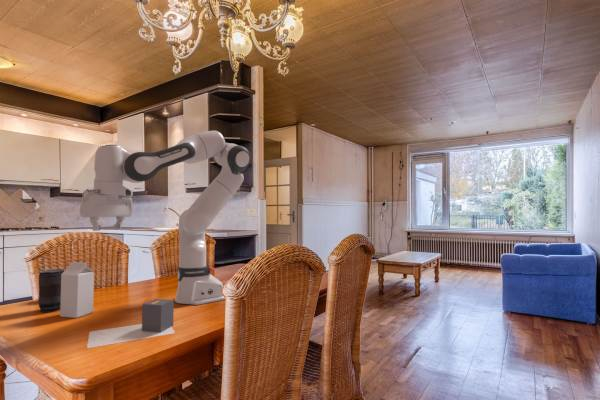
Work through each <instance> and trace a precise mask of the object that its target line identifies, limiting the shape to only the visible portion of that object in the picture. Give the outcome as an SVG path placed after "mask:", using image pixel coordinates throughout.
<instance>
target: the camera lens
mask: <svg viewBox="0 0 600 400" xmlns="http://www.w3.org/2000/svg"><path fill="white" fill-rule="evenodd" d="M64 271H65V269H63V268H56V269H47V270H42V271H40V272H39V273H38V274H39V275H38V308H39V309H40V310H39V311H40V312H41V313H53V312H54V313H55V312H59V311H60V305H61V274H62V273H63V272H64Z"/></svg>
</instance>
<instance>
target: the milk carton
mask: <svg viewBox="0 0 600 400" xmlns="http://www.w3.org/2000/svg"><path fill="white" fill-rule="evenodd" d="M94 277H95V271H94V270H93V269H92V268H90V267H89V266H88V264H87V262H86V261H85V262H80V261H78V262H77V261H75V262H74V261H69V266H67V268H66V269H64V272H63V273H62V274H61V305H60V310H59V312H60V313H59V316H60V318H61V317H62V318H75V319H77V318H80V317H83V316H86V315H88V314H91V313H94V290H95V289H94V286H95V284H94V282H95V280H94V279H95V278H94Z"/></svg>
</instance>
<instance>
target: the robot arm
mask: <svg viewBox="0 0 600 400" xmlns="http://www.w3.org/2000/svg"><path fill="white" fill-rule="evenodd" d="M251 156H252V155H251V152H250V151H249V150H248V149H247V148H246V147H244V146H243V145H238V144H236V143H232V142H231V143H229V142H226V140H225V137H224V136H223V134H222V133H221V132H219V131H218V130H207V131H206V130H205V131H202V132H201V131H200V132H198V133H194V134H192V135H189V136H187V137H185V138H183V139H181V140H180V141H178V143H177V144H175V145H173V146H170V147H168V148H165V149H161V150H158V151H155V152H147V151H136V152H133V153H131V152H129V151H128V150H126V149H124V148H123V147H122V145H118V144H105V145H101V146H100V147H98V148H97V149H96V151H95V154H94V165H93V166H94V167H93V168H94V169H93V170H94V173H95V174H94V175H95V176H94V179H93V189H92V188H87V189H86V190H84V191H83V192H82V198H81V202H80V206H79V215H80V217H82V218H89V222H90V223H91V226H92V231H93V232H95V231H100V230H101V224H99V222H98V221H99V218H101V217H102V218H105V217H106V218H109V217H110V218H111V217H115V220H116V223H115V224H113V226H114V227H113V229H114V230H121V229H122V224H123V222H124V220H125V217H126V218H127V217H131V216H132V214H133V199H132V197H133V196H134V193H133V191H132V190H130V189H129V188H128V187H126V186H124V182H125V181H126V182H129V183H133V184H140V183H142V182H147V181H150V180H151V179H153V177H154V176H156V175H157V173H158V172H159V171H160V172H161V170H163V169H165V168H168V167H172V166H174V165H177V164H180V163H185V164H196V163H200V162H203V161H205V160H208V159H211V160H212V161H213V162H214V163H215V164H217V165H218V166H220V167H221V171H220V172H219V174H218V175H217V176H216V177H215V178H214V179H213V180H212V181H211V182H210V184H209V185H208V186H207V187H206V188H205V189H204V190H203V191H202V192H201V194H200V195H199V196H198V197H197V198H196V199H195V200H194V201H193V203H192V204H191V205H190V207H188V209H186V210H184V211H183V212H182V213H181V214H180V215H179V218H178V241H179V243H178V244H179V263H178V264H179V266H178V268H177V280H178V284H177V290H176V294H175V299H174V302H175V303H176V304H184V305H185V304H186V305H194V306H198V305H204V304H208V303H213V302H219V301H224V300H226V299H225V297H224V296H223V294H222V289H223V287H224V285H223V282H222V281H221V280H220V279H218V278H217V277H215V276H214V275H213V274H211V273H214V271H215V268H214V267H212V266H209V265H207V243H206V230H207V229H208V228H209V226H210V225H211V224H212V222H214V220H215V219H216V218H217V217H218V216H217V215H218V214H219V213H220V212H221V210H222V209H223V208H224V207H225V206H226V204H228V202H229V201H231V199H232V198H233V197H234V196H235V194H236V193H237V191H238V190H239V189H240V187H241V186H242V184H243V182H244V180H245V178H244V174H243V173H245V172H246V171H247V168H248V167H249V165H250V163H251V160H252V159H251V158H252V157H251Z"/></svg>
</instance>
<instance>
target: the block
mask: <svg viewBox="0 0 600 400" xmlns="http://www.w3.org/2000/svg"><path fill="white" fill-rule="evenodd" d="M174 302H175V299H165V298H154V299H152V300H150V301H147V302H144V303H142V306H141V308H142V309H141V312H142V313H141V324H142V331H147V332H160V333H161V332H163V331H165V330H166V329H168V328H170V327H171V326H172V327H173V326H174V312H175V311H174V307H175V305H174Z"/></svg>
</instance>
